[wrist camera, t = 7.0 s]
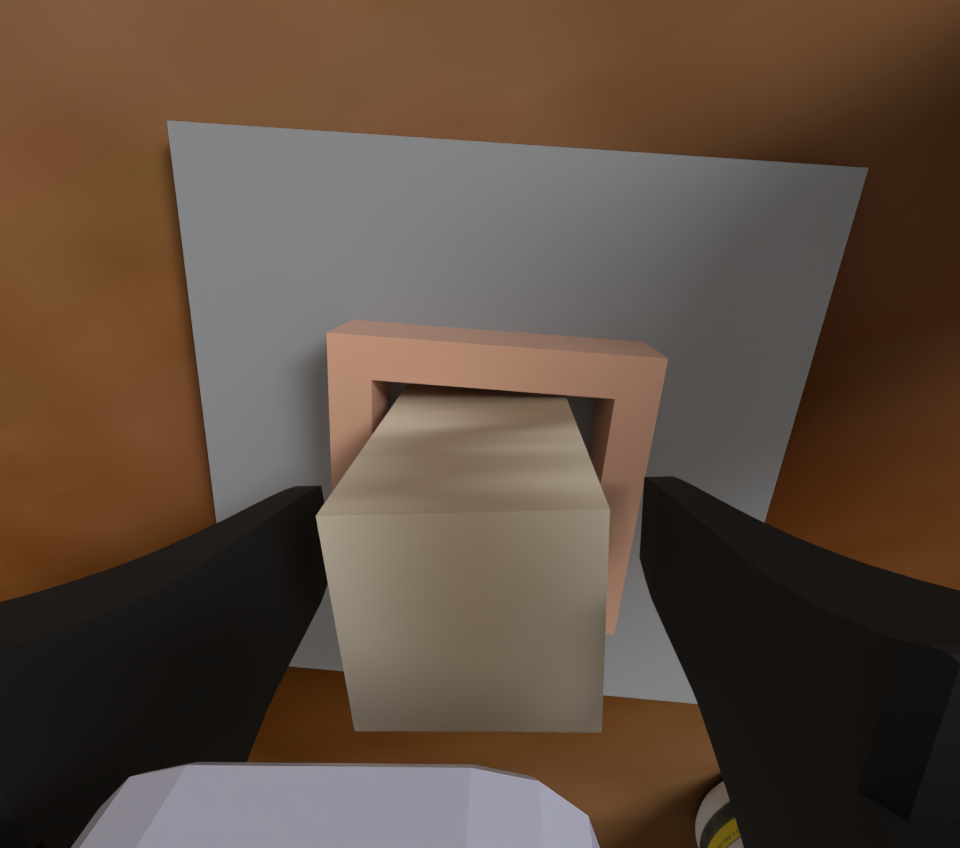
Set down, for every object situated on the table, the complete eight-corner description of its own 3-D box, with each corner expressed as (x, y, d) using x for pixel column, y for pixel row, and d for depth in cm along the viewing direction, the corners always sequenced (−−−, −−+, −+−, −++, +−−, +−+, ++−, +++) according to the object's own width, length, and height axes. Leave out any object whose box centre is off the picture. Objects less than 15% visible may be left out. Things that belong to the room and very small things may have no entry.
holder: (846, 172, 12) (940, 152, 9) (701, 685, 18) (736, 763, 15) (187, 128, 12) (102, 97, 10) (245, 643, 18) (199, 712, 15)
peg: (558, 377, 13) (610, 509, 7) (558, 512, 15) (601, 732, 8) (408, 383, 14) (316, 516, 7) (421, 515, 15) (354, 731, 8)
